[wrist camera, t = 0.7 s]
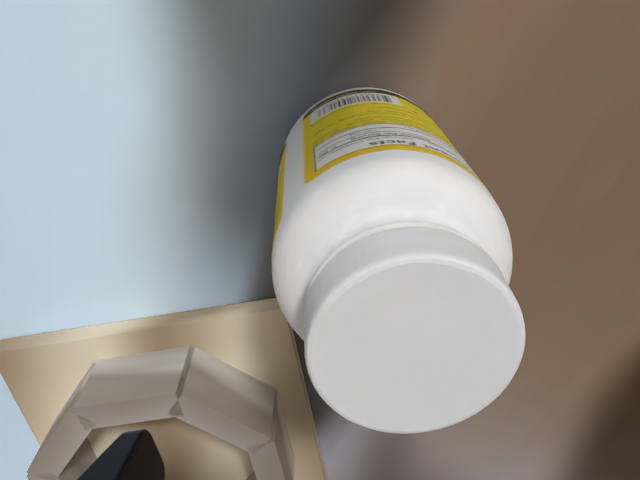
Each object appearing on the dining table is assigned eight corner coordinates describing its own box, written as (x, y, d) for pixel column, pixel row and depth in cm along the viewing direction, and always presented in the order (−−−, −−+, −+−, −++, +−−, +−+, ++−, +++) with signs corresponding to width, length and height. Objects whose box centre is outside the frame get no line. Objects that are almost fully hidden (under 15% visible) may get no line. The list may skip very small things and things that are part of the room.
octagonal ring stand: (284, 296, 21) (281, 353, 18) (331, 496, 26) (334, 566, 23) (0, 340, 22) (-48, 401, 19) (99, 527, 27) (73, 599, 24)
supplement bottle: (373, 266, 21) (422, 500, 12) (248, 181, 19) (199, 379, 10) (479, 151, 19) (630, 328, 10) (350, 45, 17) (396, 148, 8)
